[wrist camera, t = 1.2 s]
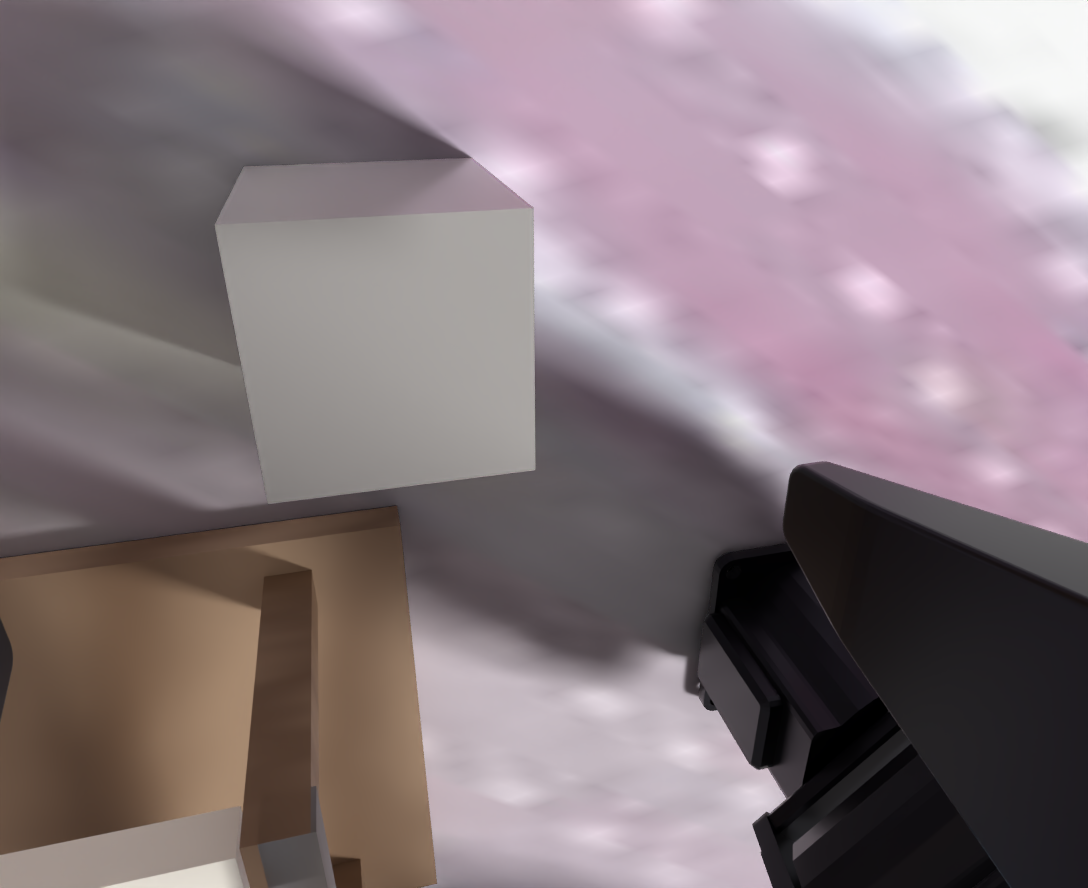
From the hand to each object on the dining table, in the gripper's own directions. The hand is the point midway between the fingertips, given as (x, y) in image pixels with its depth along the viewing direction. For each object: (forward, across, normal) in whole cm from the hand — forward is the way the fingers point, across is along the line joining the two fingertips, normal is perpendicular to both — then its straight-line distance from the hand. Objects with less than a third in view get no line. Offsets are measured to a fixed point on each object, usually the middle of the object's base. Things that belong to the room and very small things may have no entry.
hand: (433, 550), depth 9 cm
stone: (+12, 0, 0) cm, 12 cm away
